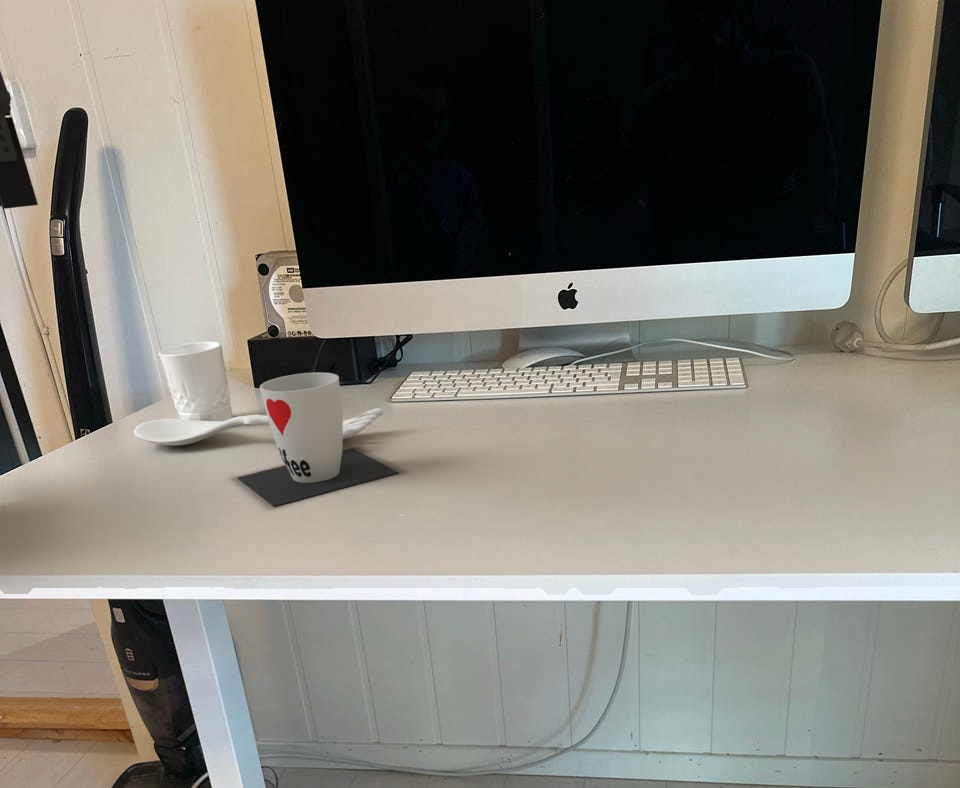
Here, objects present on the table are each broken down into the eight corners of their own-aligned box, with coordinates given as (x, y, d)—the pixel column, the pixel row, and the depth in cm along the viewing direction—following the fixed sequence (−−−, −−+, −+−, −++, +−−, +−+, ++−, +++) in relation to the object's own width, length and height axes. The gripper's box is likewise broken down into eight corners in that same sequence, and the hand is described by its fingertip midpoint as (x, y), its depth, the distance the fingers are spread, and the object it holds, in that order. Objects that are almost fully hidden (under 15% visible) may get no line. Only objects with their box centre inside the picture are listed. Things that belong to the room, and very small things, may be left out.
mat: (274, 506, 91) (273, 505, 91) (237, 478, 100) (237, 477, 100) (398, 473, 96) (398, 472, 96) (353, 449, 106) (353, 448, 106)
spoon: (357, 456, 103) (352, 426, 101) (124, 454, 113) (116, 426, 111) (387, 432, 110) (383, 404, 109) (166, 432, 120) (159, 406, 118)
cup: (270, 473, 100) (250, 382, 95) (339, 457, 103) (324, 368, 98) (291, 493, 93) (272, 396, 89) (364, 475, 96) (349, 380, 92)
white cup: (244, 423, 120) (227, 346, 115) (185, 437, 117) (166, 358, 112) (228, 412, 126) (211, 339, 122) (172, 425, 123) (152, 349, 119)
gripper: (-15, -133, 63) (78, 201, 74) (-39, -56, 83) (37, 201, 93) (-136, -137, 60) (-22, 213, 71) (-132, -56, 80) (-43, 210, 90)
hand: (11, 207), depth 82 cm, fingers open, 13 cm apart
